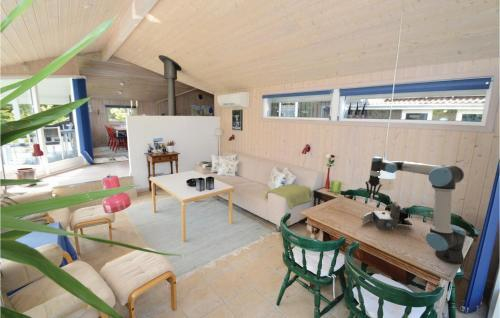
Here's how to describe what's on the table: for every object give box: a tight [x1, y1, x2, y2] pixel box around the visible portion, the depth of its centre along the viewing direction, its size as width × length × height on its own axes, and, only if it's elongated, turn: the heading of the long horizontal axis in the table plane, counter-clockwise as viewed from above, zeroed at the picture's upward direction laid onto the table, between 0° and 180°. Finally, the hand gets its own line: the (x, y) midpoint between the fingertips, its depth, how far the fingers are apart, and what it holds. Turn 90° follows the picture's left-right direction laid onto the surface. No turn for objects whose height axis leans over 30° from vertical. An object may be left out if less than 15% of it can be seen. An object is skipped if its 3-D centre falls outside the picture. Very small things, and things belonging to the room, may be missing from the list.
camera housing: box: [371, 210, 393, 230], centre depth 206 cm, size 19×11×10 cm, turn 171°
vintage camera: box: [389, 201, 413, 228], centre depth 205 cm, size 10×16×20 cm, turn 78°
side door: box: [361, 211, 373, 224], centre depth 212 cm, size 15×2×8 cm, turn 126°
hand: (371, 201), depth 203 cm, fingers closed
